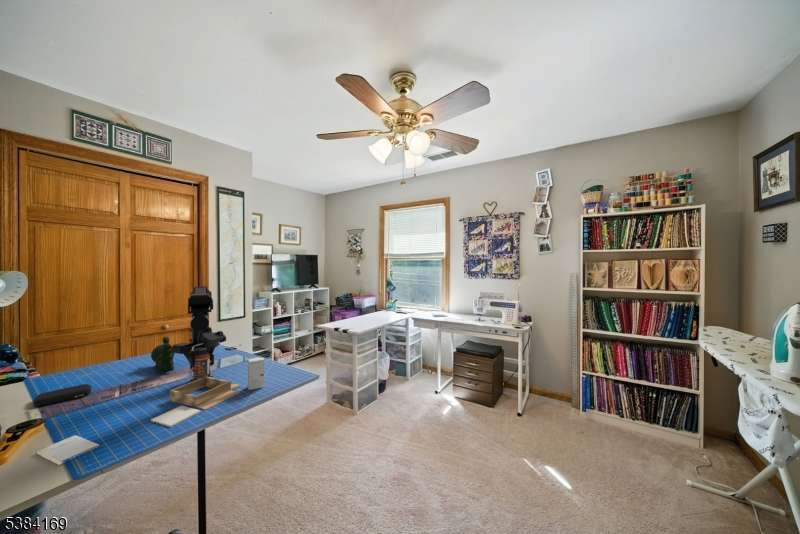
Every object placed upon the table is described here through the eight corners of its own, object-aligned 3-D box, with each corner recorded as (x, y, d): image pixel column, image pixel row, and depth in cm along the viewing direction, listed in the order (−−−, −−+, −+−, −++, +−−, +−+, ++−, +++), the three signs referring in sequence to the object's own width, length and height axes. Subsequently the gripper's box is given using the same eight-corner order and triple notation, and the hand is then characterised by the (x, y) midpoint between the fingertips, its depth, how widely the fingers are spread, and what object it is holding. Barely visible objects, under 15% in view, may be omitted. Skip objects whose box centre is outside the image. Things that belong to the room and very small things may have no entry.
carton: (169, 400, 114) (169, 390, 113) (216, 380, 132) (216, 372, 132) (205, 410, 107) (205, 399, 107) (249, 387, 125) (249, 378, 125)
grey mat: (150, 421, 99) (150, 419, 99) (181, 407, 109) (181, 405, 109) (170, 427, 96) (170, 425, 96) (200, 412, 105) (200, 410, 105)
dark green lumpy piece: (179, 376, 140) (172, 358, 158) (179, 338, 138) (172, 324, 156) (154, 382, 134) (149, 362, 152) (153, 342, 132) (149, 327, 150)
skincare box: (248, 390, 123) (248, 362, 122) (247, 386, 126) (247, 359, 126) (264, 387, 126) (264, 359, 126) (262, 383, 130) (262, 356, 129)
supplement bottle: (190, 380, 113) (190, 351, 113) (193, 375, 119) (192, 347, 118) (208, 377, 116) (208, 349, 116) (210, 372, 121) (210, 345, 121)
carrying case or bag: (32, 411, 106) (91, 397, 117) (32, 402, 106) (91, 389, 116) (35, 401, 113) (90, 388, 124) (35, 393, 113) (90, 381, 124)
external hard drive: (59, 468, 78) (36, 456, 82) (99, 449, 86) (76, 439, 90) (58, 462, 78) (35, 450, 82) (99, 443, 86) (76, 434, 90)
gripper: (190, 333, 105) (191, 375, 106) (235, 322, 123) (235, 359, 123) (170, 330, 109) (170, 371, 110) (216, 320, 127) (216, 355, 127)
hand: (200, 364), depth 117 cm, fingers closed on supplement bottle, 6 cm apart
